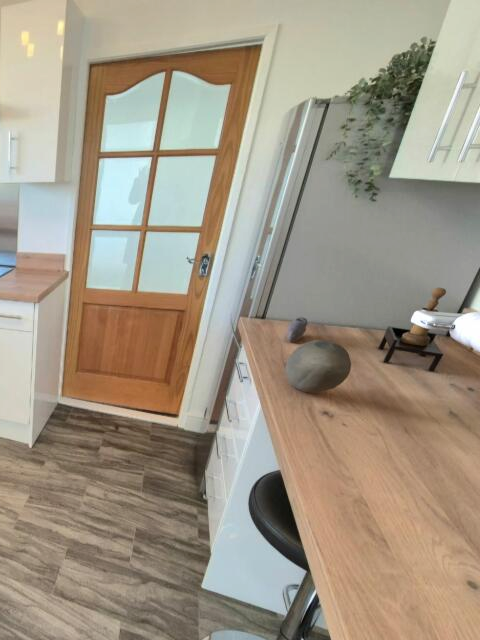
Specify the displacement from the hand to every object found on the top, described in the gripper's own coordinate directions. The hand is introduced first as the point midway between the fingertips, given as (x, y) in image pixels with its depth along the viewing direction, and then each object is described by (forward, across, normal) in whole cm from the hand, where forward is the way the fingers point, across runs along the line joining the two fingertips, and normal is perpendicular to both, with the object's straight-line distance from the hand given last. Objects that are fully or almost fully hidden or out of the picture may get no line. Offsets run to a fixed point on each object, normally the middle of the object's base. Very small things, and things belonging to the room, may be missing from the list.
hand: (443, 314), depth 129 cm
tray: (+6, 0, -18) cm, 19 cm away
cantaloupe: (-31, -40, -18) cm, 53 cm away
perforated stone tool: (+16, -30, -18) cm, 38 cm away
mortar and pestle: (+6, 0, -12) cm, 13 cm away
